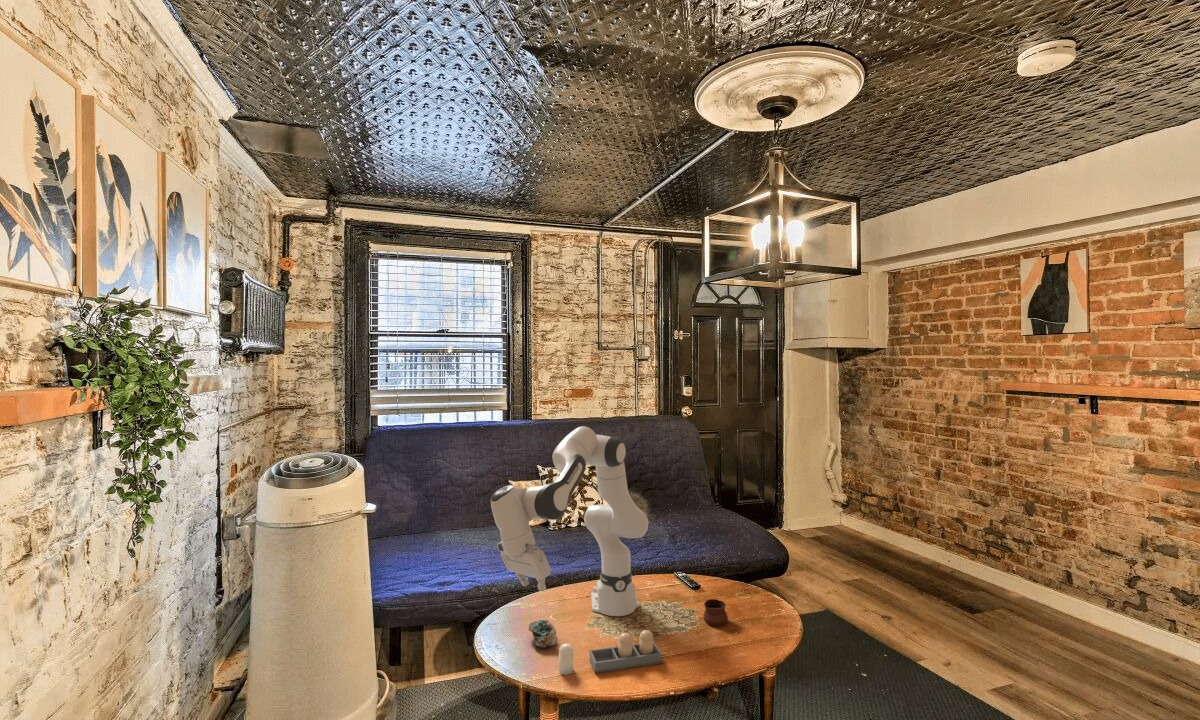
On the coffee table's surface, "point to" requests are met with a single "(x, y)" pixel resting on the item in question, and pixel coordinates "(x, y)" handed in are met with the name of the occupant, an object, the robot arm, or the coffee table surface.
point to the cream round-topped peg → (566, 659)
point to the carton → (626, 654)
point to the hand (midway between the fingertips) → (534, 587)
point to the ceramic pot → (715, 613)
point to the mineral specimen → (543, 633)
